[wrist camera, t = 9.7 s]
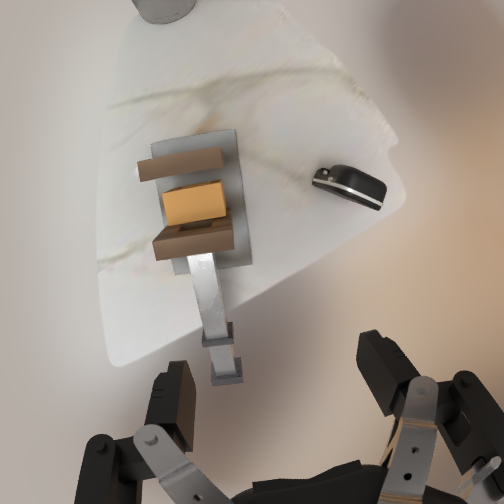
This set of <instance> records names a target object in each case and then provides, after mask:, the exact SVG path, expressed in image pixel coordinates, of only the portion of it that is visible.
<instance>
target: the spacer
mask: <svg viewBox="0 0 504 504" xmlns="http://www.w3.org/2000/svg"><path fill="white" fill-rule="evenodd" d="M162 197H163V202H164V207H165V212H166V217H167V221H168V226H173V225H178V224H183V223H189V222H194V221H200V220H206V219H211V218H217V217H223V216H226V202H225V196H224V190H223V184H222V179H219V180H213V181H208V182H202V183H197V184H191V185H186V186H181V187H176V188H172V189H170V190H168V191H166V192H164V193H162Z"/></svg>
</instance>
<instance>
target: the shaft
mask: <svg viewBox="0 0 504 504" xmlns="http://www.w3.org/2000/svg"><path fill="white" fill-rule="evenodd" d="M187 258H188V263H189V268H190V273H191V277H192V282H193V286H194V290H195V295H196V299H197V303H198V307H199V312H200V316H201V320H202V324H203V336H202V346H203V347H209V350H210V354H211V358H212V368H211V369H212V370H211V382H212V385H213V386H219V385H228V384H237V383H243V370H242V361H241V357H239V358H235V356H234V351H233V347H232V344H234V333H233V323H232V322H227V317H226V312H225V307H224V302H223V297H222V292H221V286H220V281H219V276H218V270H217V265H216V259H215V253H214V252H213V253H207V254H200V255H193V256H187Z"/></svg>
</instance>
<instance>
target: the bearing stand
mask: <svg viewBox="0 0 504 504" xmlns="http://www.w3.org/2000/svg"><path fill="white" fill-rule="evenodd" d="M151 150H152V157H153V158H152V159H148V160H143V161H139V162H137V163H138V170H139V176H140V182H143V181H148V180H153V179H156V183H157V189H158V195H159V201H160V206H161V212H162V217H163V222H164V227H165V228H164V229H163V230H162V231H161V233H160V234H159V235H158V236H157V237H156V238H155V239H154V240H153V241H152V244H153V248H154V253H155V257H156V261H159V260H166V259H171V260H172V264H173V269H174V273H175V275H181V274H188V273H190V268H189V263H188V258H187V256H193V255H200V254H207V253H213V252H214V253H215V259H216V265H217V269H224V268H231V267H238V266H245V265H251V264H252V257H251V250H250V242H249V235H248V227H247V220H246V212H245V204H244V197H243V189H242V182H241V174H240V166H239V159H238V151H237V143H236V136H235V129H232V130H224V131H217V132H211V133H204V134H198V135H193V136H187V137H182V138H177V139H172V140H167V141H162V142H158V143H153V144H151ZM219 179H222V184H223V190H224V196H225V202H226V216H223V217H217V218H211V219H206V220H200V221H194V222H189V223H183V224H178V225H173V226H168V221H167V217H166V212H165V207H164V202H163V197H162V193H164V192H166V191H168V190H170V189H172V188H176V187H181V186H186V185H191V184H197V183H202V182H208V181H213V180H219Z"/></svg>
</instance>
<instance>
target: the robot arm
mask: <svg viewBox="0 0 504 504" xmlns="http://www.w3.org/2000/svg"><path fill="white" fill-rule="evenodd" d="M195 1H196V0H132V2H133V3H134V5H135V6H136V8H137V10H138V11H139V13H140V14H141V16H142V17H143V19H145V20H146V21H148V22H150V23H154V24H165V23H170V22H173V21H176V20H178V19H180V18H182V17H183V16H185V15H186V14H187V13H189V12H190V10H191V9H192V8H193V6H194V4H195ZM356 361H357V366H358V368H359V370H360V372H361V374H362V376H363V377H364V379H365V381H366V383H367V385H368V386H369V388H370V390H371V392H372V394H373V396H374V397H375V399H376V401H377V403H378V405H379V407H380V408H381V410H382V412H383V414H384V416H385V417H386V416H389V415H391V414H393V415H394V417H395V420H394V422H393V426H392V429H391V432H390V436H389V439H388V442H387V445H386V448H385V451H384V454H383V456H382V458H381V460H380V463H379V465H361V463H360V460H356V461H352V462H349V463H346V464H342V465H339V466H336V467H333V468H331V469H329V470H327V471H325V472H323V473H321V474H319V475H317V476H315V477H312V478H310V479H273V480H266V481H258V482H252V484H253V488H251V489H248V490H245V491H243V492H241V493H239V494H237V495H236V496H234V497H233V498H231V499H229V498H228V497H226V496H225V495H224V494H223V493H222V492H221V491H220V490H219V489H218V488H217V487H216V486H215V485H214V484H213V483H212V482H211V481H210V480H209V479H208V478H207V477H206V476H205V475H204V474H203V473H202V472H201V471H200V470H199V469H198V468H197V466H196V465H195V464H193V463H192V462H191V461H190V460H189V459H188V458H187V457H186V456H185V452H192V451H193V437H194V420H195V405H196V387H195V382H194V380H193V377H192V374H191V371H190V368H189V365H188V363H187V361H186V360H183V361H170V362H169V366H168V371H167V372H166V373H160V374H159V375H158V377H157V378H156V379H155V381H154V384H153V388H152V390H153V391H152V393H151V398H150V401H149V406H148V411H147V415H146V420H145V424H144V426H143V427H141V428H139V429H138V430H137V431H136V433H135V435H134V436H132V437H128V438H123V439H118V440H113V438H111V437H110V436H109V435H106V434H98V435H95V436H93V437H92V438H91V439H90V440H89V441H88V443H87V445H86V449H85V453H84V457H83V462H82V466H81V470H80V475H79V480H78V485H77V490H76V496H75V502H74V504H141V500H142V482H143V480H146V479H151V478H156V477H157V478H158V480H159V483H160V485H161V486H162V487H163V489H164V490H165V491H166V492H167V494H168V495H169V496H170V498H171V499H172V500H173V501H174V502H175V504H497V503H498V502H500V501H501V500H503V499H504V413H503V411H502V410H501V408H500V407H499V405H498V404H497V403H496V401H495V400H494V399H493V397H492V396H491V395H490V393H489V392H488V391H487V389H486V388H485V387H484V386H483V384H482V383H481V381H480V380H479V379H478V377H476V375H475V374H474V373H472V372H470V371H459V372H458V373H456V374H455V376H454V378H453V380H451V381H444V382H436V381H435V380H434V379H432V378H430V377H428V376H421V375H420V374H419V372H418V371H417V370H416V368H415V367H414V366H413V364H412V363H411V362H410V360H409V359H408V358H407V356H405V354H404V353H403V352H402V350H401V349H400V348H399V346H398V345H397V344H396V342H394V341H393V340H391V339H389V338H388V337H385V338H382V336H381V335H380V334H379V332H378V331H377V330H375V329H374V330H371V331H367V332H363V333H360V336H359V342H358V349H357V355H356ZM463 413H464V414H463ZM465 416H466V417H465ZM466 418H467V419H468V420H467V419H466ZM468 421H469V422H468ZM437 429H438V430H439V432H440V433H441V435H442V437H443V439H444V441H445V443H446V444H447V447H448V449H449V450H450V452H451V454H452V456H453V458H454V460H455V462H456V464H457V466H458V468H459V471H460V473H461V475H462V477H461V480H460V483H459V493H460V494H461V495H460V497H457V496H455V495H452V494H449V493H446V492H443V491H440V490H437V489H435V488H432V487H430V486H427V485H426V482H427V479H428V475H429V471H430V467H431V462H432V458H433V453H434V448H435V442H436V437H437Z"/></svg>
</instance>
